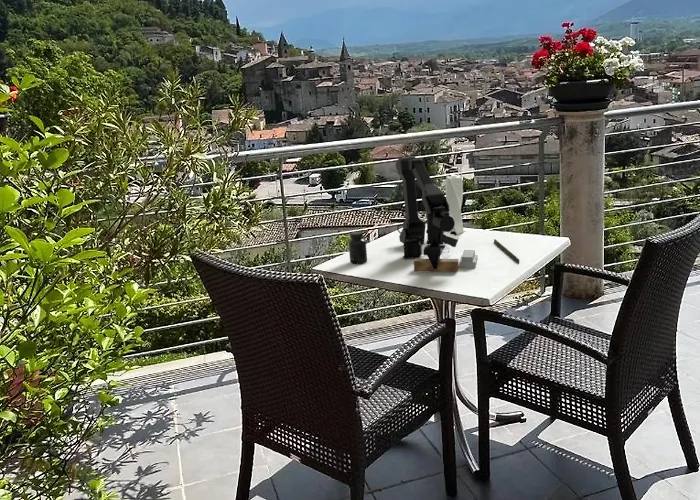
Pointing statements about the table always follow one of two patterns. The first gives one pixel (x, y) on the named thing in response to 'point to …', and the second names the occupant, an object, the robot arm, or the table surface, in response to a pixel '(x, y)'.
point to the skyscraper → (455, 200)
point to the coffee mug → (424, 228)
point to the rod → (506, 251)
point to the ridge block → (468, 259)
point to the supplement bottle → (357, 248)
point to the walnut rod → (443, 266)
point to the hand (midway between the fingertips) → (436, 267)
